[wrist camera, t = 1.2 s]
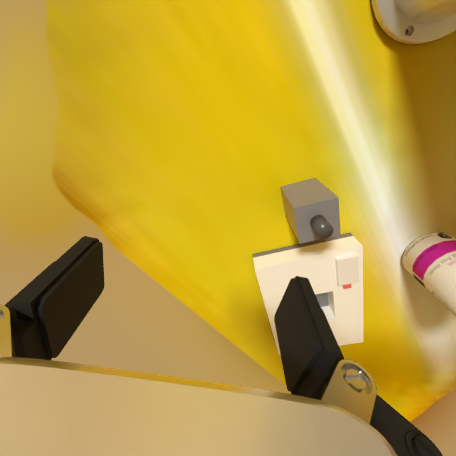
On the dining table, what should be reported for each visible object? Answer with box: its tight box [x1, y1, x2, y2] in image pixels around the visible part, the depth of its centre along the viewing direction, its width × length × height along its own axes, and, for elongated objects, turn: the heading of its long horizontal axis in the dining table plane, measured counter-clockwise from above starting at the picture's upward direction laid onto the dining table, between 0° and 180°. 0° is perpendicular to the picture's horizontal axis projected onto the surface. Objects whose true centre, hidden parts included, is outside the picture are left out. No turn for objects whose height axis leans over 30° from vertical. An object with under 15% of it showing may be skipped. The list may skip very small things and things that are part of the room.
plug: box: [281, 178, 340, 244], centre depth 30 cm, size 5×5×10 cm
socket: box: [253, 233, 363, 355], centre depth 41 cm, size 16×22×5 cm
